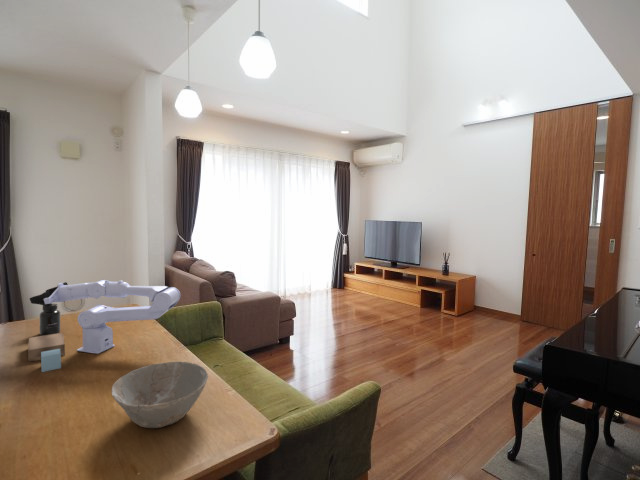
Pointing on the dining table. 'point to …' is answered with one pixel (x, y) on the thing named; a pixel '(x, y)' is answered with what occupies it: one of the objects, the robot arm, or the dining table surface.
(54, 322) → the supplement bottle
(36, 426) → the dining table surface
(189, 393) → the ceramic bowl
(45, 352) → the blue cube
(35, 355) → the walnut block
